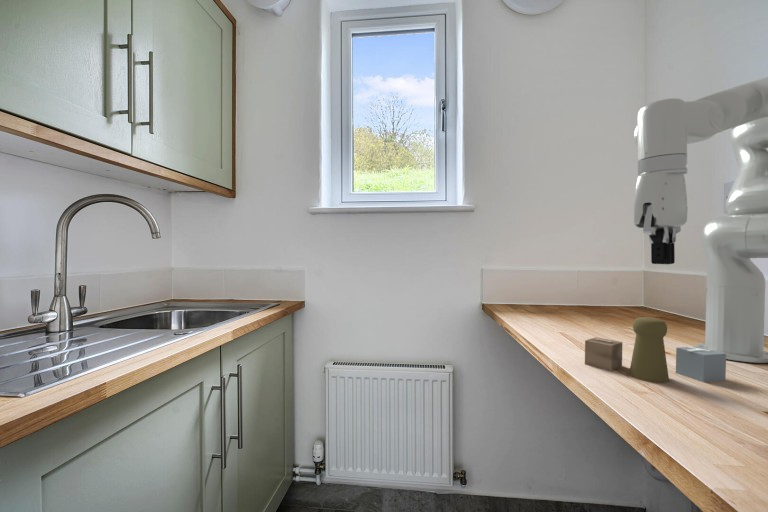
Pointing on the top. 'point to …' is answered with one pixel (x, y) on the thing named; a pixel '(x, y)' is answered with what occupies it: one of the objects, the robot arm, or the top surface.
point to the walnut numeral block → (603, 353)
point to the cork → (649, 350)
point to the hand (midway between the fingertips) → (662, 263)
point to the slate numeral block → (701, 364)
